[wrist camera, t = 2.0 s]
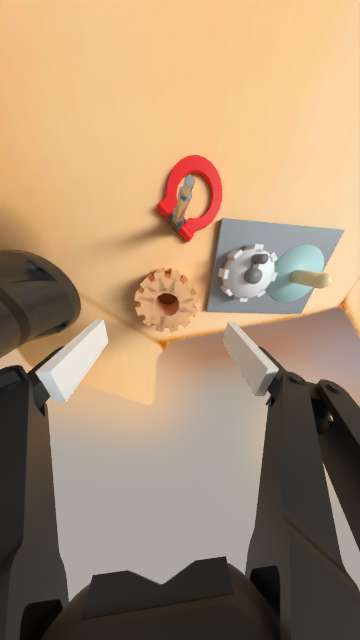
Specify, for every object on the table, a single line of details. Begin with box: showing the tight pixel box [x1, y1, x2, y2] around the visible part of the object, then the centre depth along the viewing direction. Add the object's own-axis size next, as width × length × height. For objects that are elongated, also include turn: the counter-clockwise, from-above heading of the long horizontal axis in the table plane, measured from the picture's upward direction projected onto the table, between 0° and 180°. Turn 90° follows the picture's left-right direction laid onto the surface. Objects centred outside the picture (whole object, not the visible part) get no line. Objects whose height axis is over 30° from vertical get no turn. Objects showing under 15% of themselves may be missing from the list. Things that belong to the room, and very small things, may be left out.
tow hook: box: [157, 155, 222, 242], centre depth 15 cm, size 8×13×9 cm
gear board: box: [206, 218, 344, 314], centre depth 23 cm, size 22×16×7 cm
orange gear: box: [135, 268, 198, 332], centre depth 24 cm, size 10×10×6 cm
